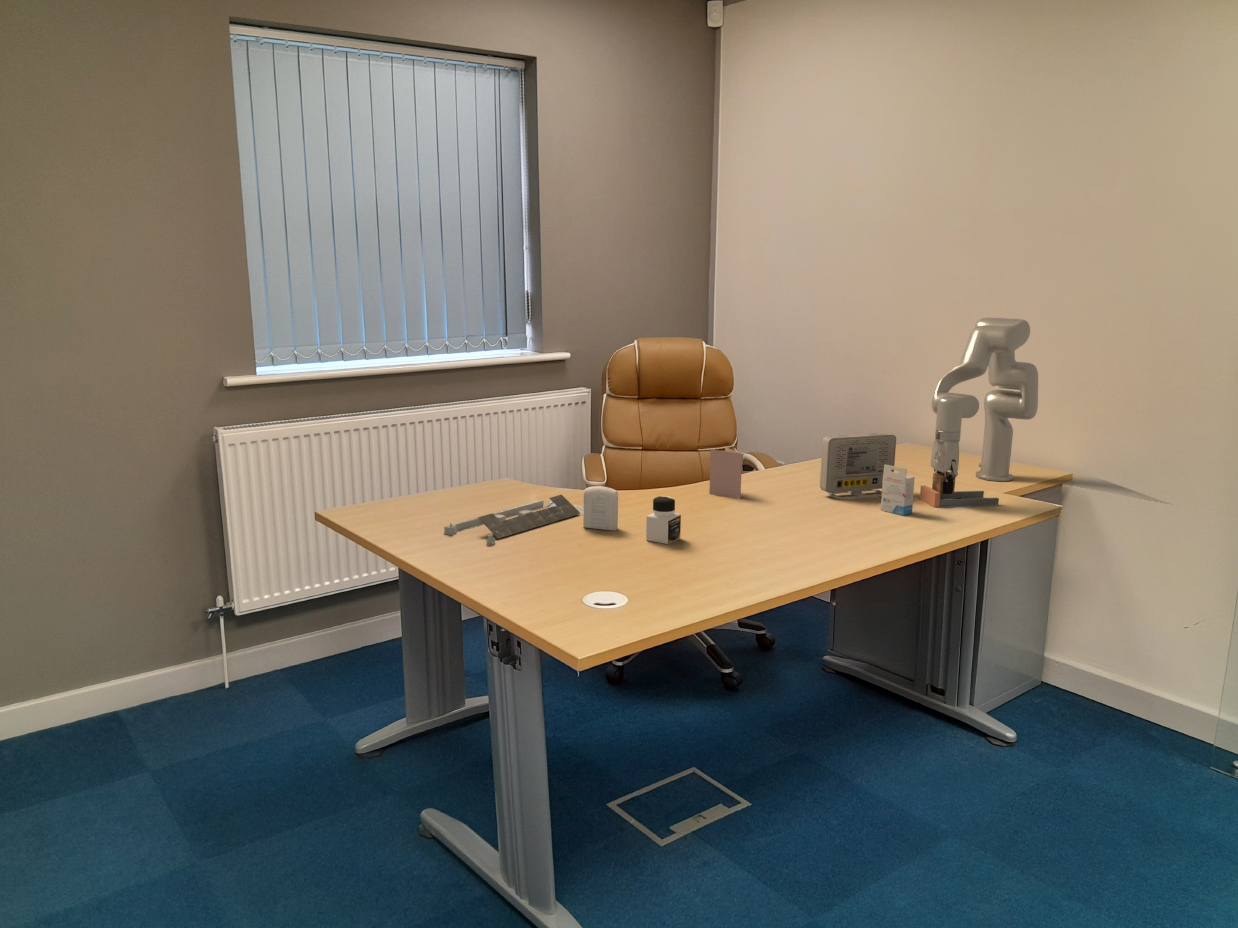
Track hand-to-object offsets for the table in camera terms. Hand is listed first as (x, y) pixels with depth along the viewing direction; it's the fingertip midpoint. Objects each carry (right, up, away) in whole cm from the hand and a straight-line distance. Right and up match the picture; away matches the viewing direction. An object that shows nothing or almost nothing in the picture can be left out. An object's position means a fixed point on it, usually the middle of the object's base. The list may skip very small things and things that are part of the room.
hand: (943, 490), depth 296 cm
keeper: (0, -1, 0) cm, 1 cm away
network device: (-25, -2, +10) cm, 27 cm away
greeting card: (-69, -2, +8) cm, 70 cm away
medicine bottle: (-92, -12, -40) cm, 101 cm away
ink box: (-18, -6, -10) cm, 22 cm away
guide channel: (+6, -4, +2) cm, 7 cm away
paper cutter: (-132, -9, -24) cm, 135 cm away
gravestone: (-109, -10, -30) cm, 114 cm away
